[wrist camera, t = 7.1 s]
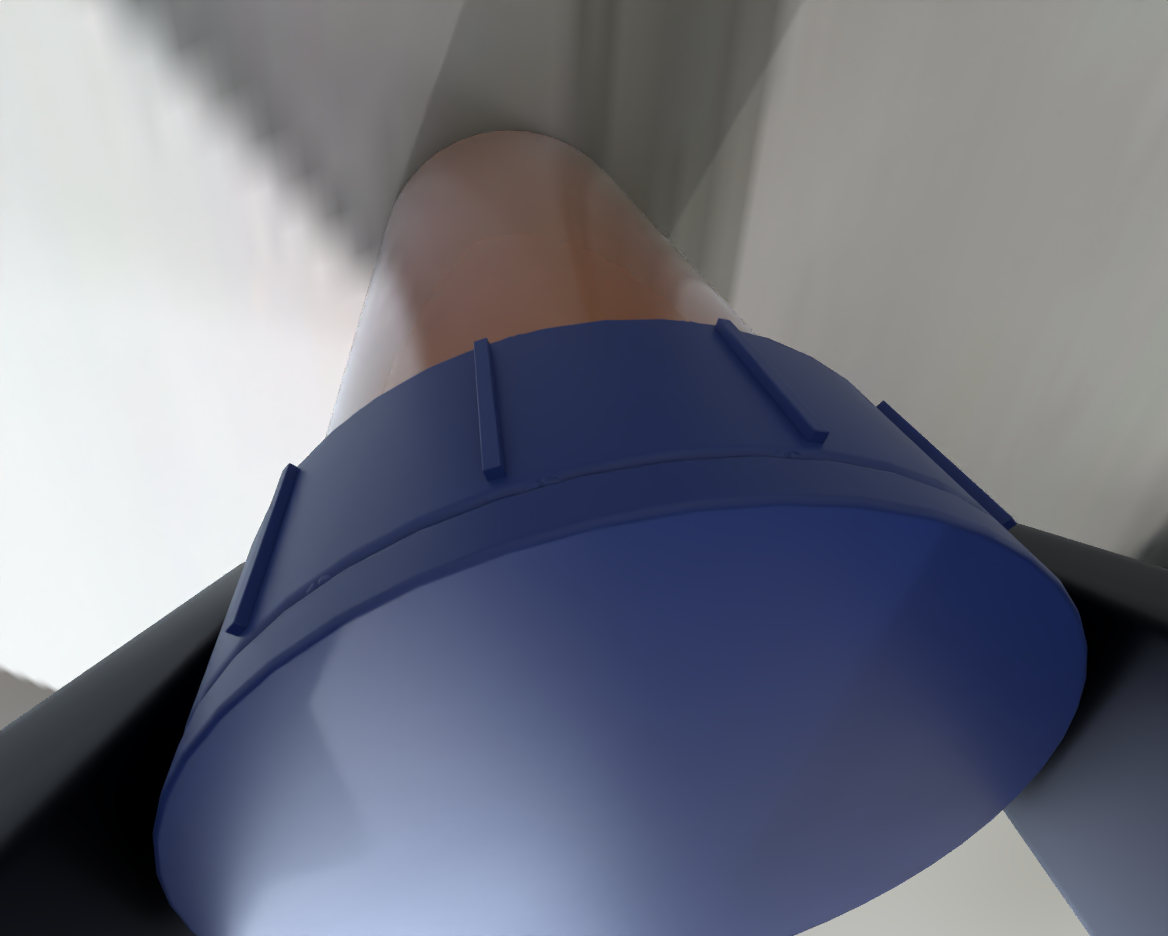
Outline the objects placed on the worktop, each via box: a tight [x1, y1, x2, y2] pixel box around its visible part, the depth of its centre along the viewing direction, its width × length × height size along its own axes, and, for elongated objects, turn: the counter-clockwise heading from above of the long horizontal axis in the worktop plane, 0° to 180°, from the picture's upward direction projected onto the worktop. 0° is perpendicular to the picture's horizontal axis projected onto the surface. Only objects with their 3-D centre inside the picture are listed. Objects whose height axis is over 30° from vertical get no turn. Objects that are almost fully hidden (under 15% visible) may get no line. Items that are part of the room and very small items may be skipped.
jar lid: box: [152, 318, 1088, 936], centre depth 6 cm, size 7×7×2 cm
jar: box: [325, 130, 756, 438], centre depth 11 cm, size 6×6×13 cm
